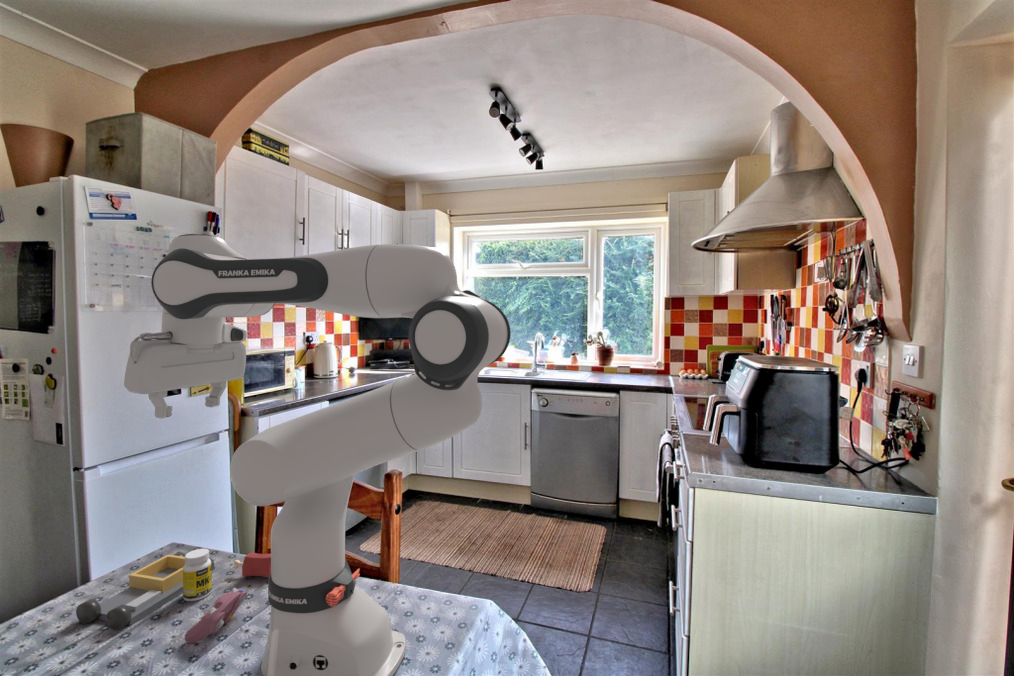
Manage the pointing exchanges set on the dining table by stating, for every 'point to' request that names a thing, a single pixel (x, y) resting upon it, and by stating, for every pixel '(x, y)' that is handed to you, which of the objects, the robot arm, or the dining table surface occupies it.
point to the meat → (255, 565)
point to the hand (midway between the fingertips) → (189, 411)
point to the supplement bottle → (197, 575)
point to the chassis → (139, 594)
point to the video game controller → (216, 616)
